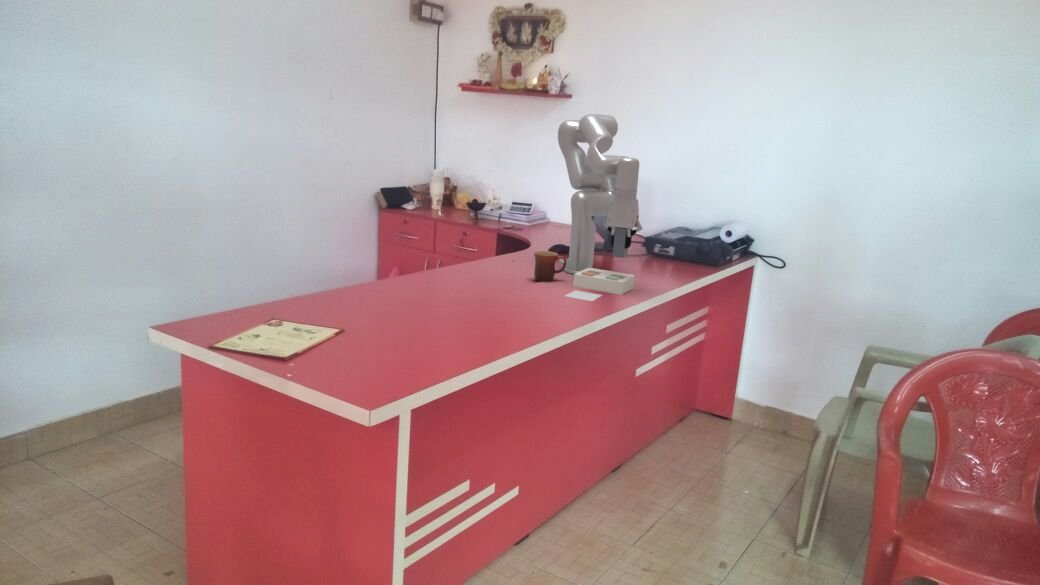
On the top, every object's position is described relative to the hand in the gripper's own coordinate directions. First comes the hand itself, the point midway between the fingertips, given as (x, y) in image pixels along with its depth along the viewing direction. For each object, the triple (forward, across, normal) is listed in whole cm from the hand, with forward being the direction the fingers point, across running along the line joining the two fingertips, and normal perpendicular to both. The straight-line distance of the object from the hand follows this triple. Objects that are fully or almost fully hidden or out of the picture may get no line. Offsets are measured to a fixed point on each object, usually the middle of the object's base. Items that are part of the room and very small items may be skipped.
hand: (620, 246), depth 248 cm
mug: (+16, -25, -3) cm, 30 cm away
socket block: (+16, -5, +1) cm, 17 cm away
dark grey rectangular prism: (+3, 0, 0) cm, 3 cm away
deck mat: (+16, -6, -16) cm, 24 cm away
